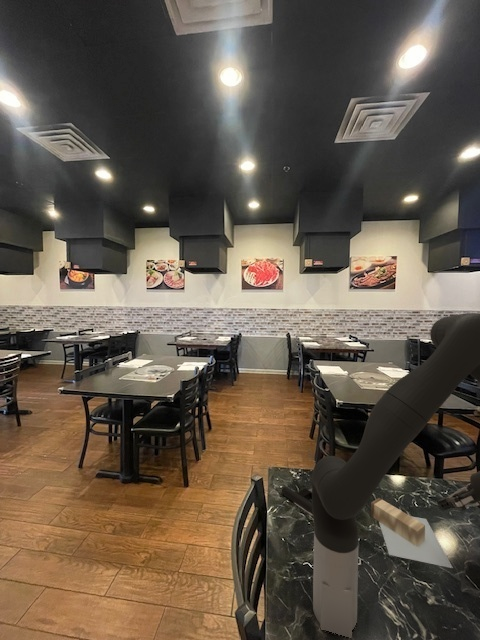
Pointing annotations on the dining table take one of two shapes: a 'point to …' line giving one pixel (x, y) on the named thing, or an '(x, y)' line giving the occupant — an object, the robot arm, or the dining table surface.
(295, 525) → the dining table surface
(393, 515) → the birch block
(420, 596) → the dining table surface
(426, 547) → the rubber mat
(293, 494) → the door handle
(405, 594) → the dining table surface
